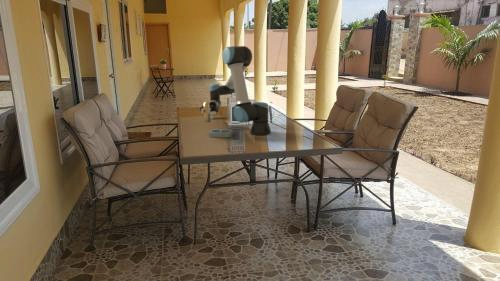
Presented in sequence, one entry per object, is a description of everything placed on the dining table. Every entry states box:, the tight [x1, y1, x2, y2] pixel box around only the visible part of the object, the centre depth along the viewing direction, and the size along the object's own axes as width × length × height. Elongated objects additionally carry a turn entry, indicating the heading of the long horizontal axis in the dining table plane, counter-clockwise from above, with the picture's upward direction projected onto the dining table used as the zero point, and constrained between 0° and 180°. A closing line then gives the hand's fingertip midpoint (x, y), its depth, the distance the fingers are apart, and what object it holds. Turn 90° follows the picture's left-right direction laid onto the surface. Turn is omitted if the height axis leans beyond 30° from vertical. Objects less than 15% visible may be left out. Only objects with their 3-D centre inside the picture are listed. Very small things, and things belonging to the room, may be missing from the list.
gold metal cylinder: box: [203, 101, 212, 123], centre depth 265 cm, size 4×4×14 cm
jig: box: [208, 128, 233, 138], centre depth 268 cm, size 15×10×4 cm, turn 82°
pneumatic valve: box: [210, 109, 219, 120], centre depth 328 cm, size 6×12×12 cm, turn 101°
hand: (205, 111), depth 260 cm, fingers closed on gold metal cylinder, 4 cm apart
